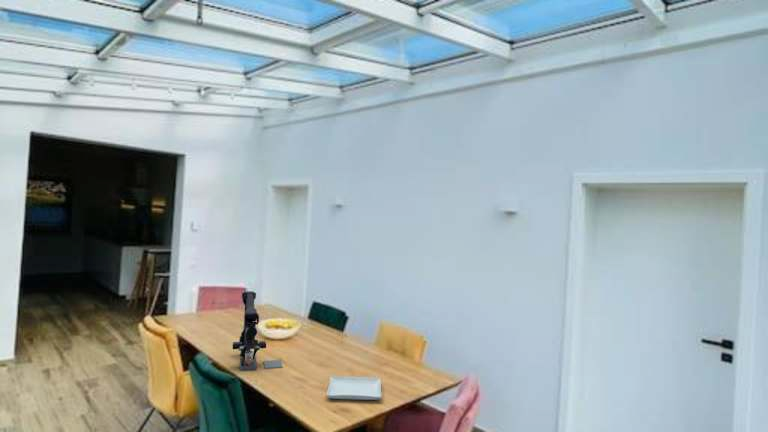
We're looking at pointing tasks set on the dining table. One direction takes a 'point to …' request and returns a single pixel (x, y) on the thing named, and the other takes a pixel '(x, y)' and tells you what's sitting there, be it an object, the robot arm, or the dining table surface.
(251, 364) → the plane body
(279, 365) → the rest mat
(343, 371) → the dining table surface
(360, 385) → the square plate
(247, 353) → the lever cap
